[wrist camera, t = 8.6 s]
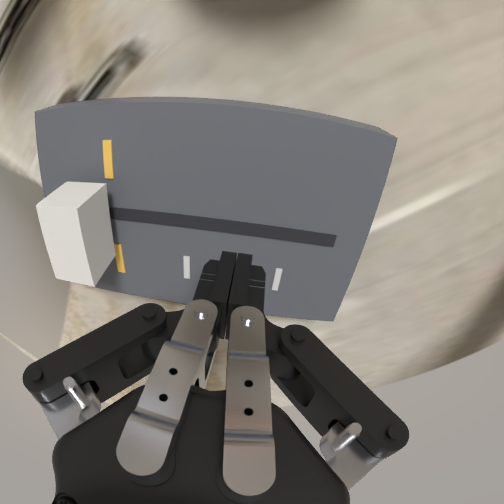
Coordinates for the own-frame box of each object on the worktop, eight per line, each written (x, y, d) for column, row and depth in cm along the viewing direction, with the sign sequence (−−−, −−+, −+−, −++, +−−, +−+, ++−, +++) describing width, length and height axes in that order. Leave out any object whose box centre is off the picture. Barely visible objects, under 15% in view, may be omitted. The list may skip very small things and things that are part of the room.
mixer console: (379, 127, 16) (398, 138, 13) (327, 295, 24) (333, 322, 21) (60, 103, 16) (33, 112, 13) (82, 260, 23) (65, 281, 21)
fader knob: (112, 178, 15) (76, 208, 12) (120, 248, 18) (94, 286, 15) (73, 176, 15) (35, 205, 12) (84, 242, 18) (56, 278, 15)
